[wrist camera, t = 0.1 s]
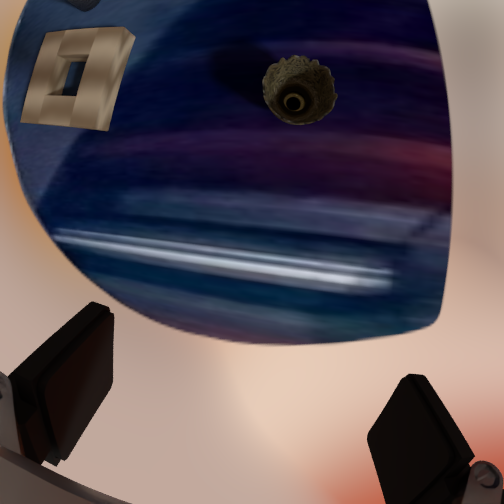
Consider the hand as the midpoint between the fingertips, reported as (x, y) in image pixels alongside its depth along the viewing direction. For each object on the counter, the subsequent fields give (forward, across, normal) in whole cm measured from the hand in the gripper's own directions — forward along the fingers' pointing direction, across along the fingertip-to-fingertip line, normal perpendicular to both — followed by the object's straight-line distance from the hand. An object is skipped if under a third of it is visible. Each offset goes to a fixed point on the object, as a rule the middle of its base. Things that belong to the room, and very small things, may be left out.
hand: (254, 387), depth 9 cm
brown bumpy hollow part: (+31, 0, -15) cm, 35 cm away
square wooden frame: (+31, +30, -14) cm, 45 cm away
